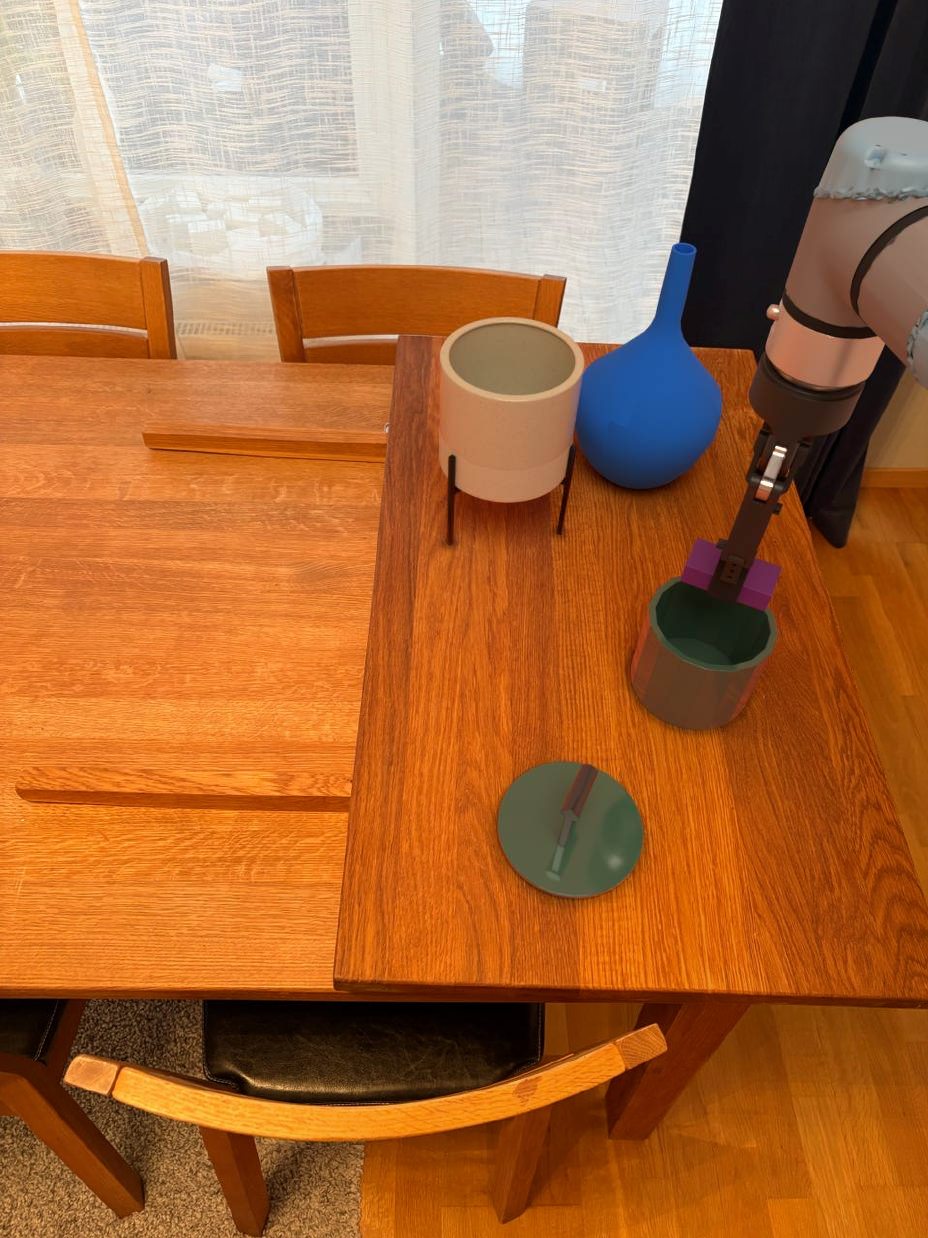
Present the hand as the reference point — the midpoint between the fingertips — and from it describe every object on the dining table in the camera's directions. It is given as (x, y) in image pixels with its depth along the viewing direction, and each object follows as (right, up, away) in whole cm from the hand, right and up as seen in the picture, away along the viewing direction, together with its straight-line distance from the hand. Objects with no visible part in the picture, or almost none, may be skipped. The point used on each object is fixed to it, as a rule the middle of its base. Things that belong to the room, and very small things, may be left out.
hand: (728, 579), depth 79 cm
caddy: (0, -10, +13) cm, 16 cm away
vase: (-2, +17, +35) cm, 39 cm away
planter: (-20, +9, +28) cm, 36 cm away
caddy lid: (-15, -23, +1) cm, 27 cm away
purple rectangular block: (0, 0, 0) cm, 0 cm away
